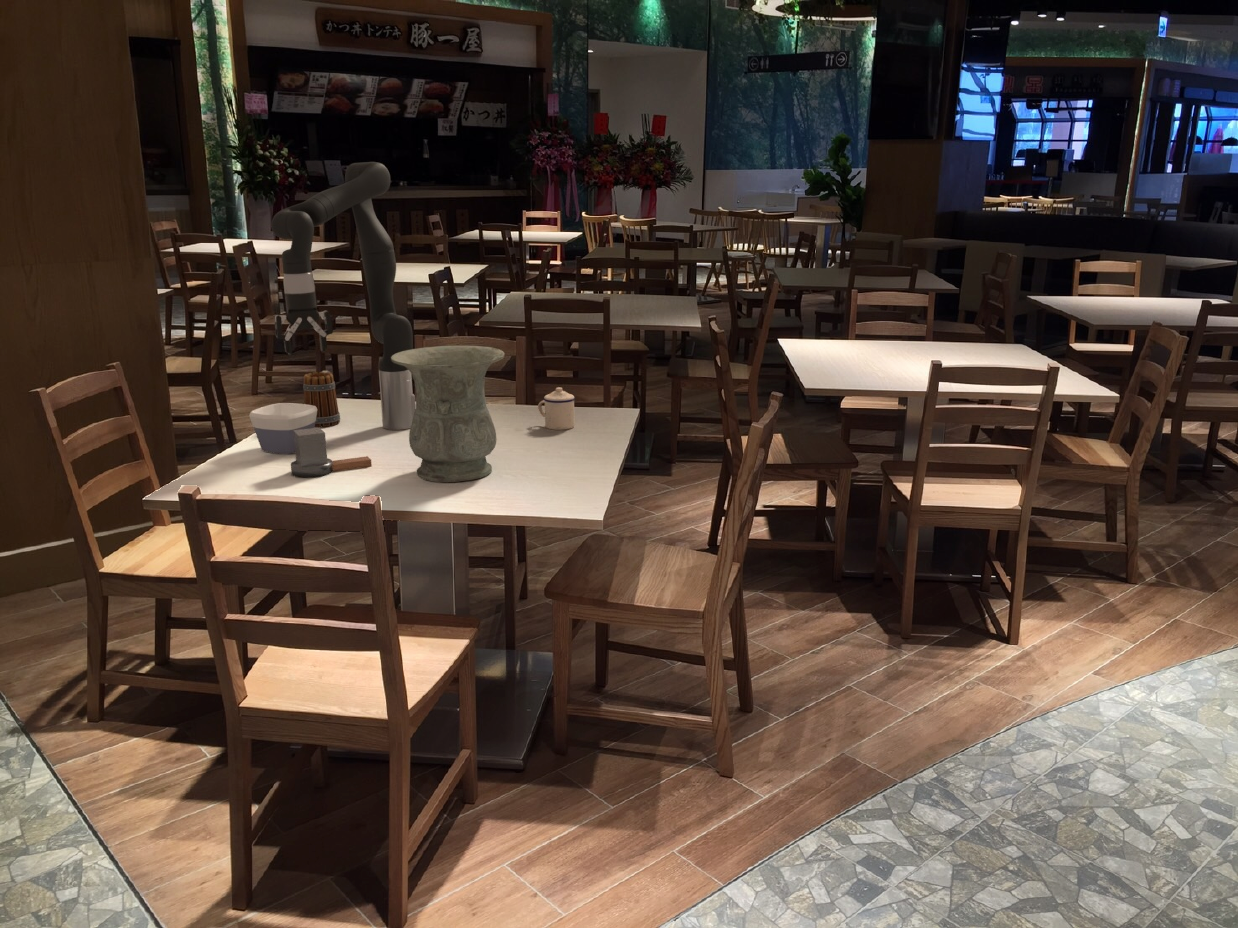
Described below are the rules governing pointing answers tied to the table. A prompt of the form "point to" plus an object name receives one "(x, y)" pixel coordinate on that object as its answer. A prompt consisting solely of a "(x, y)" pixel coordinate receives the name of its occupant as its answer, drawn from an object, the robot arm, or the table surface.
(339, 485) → the table surface
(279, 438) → the bowl
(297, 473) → the dark handled piece
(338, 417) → the mug
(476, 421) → the vessel
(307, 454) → the grey rectangular block
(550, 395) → the teacup with lid
